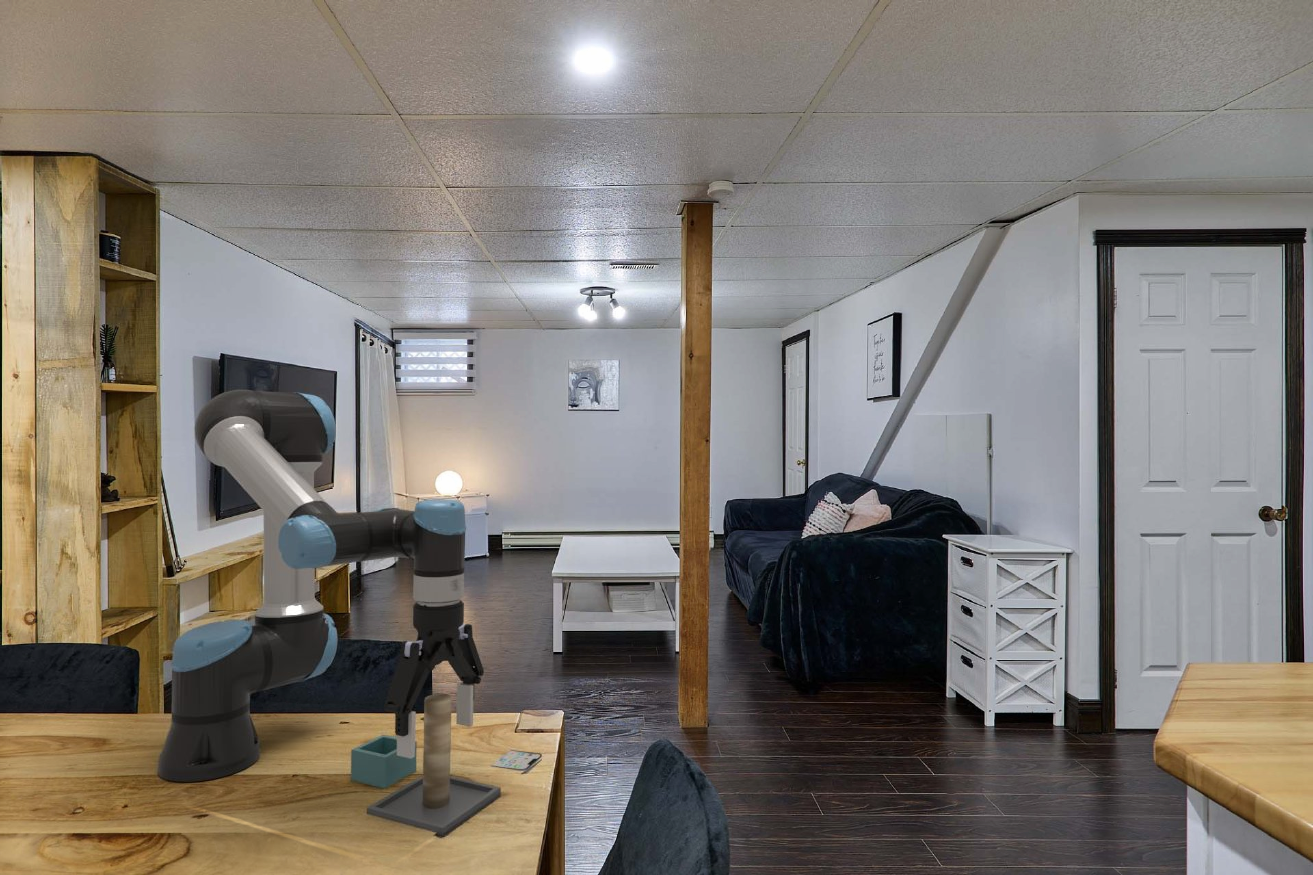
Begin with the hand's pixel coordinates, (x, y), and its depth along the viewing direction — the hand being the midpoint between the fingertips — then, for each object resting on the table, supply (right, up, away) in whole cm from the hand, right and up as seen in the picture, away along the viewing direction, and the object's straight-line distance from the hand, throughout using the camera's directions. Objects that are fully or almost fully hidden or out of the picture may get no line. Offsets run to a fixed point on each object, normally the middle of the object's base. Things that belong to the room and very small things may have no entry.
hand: (436, 739), depth 117 cm
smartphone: (+6, -11, +17) cm, 21 cm away
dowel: (0, -10, 0) cm, 10 cm away
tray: (0, -10, 0) cm, 10 cm away
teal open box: (-11, -10, +9) cm, 18 cm away
